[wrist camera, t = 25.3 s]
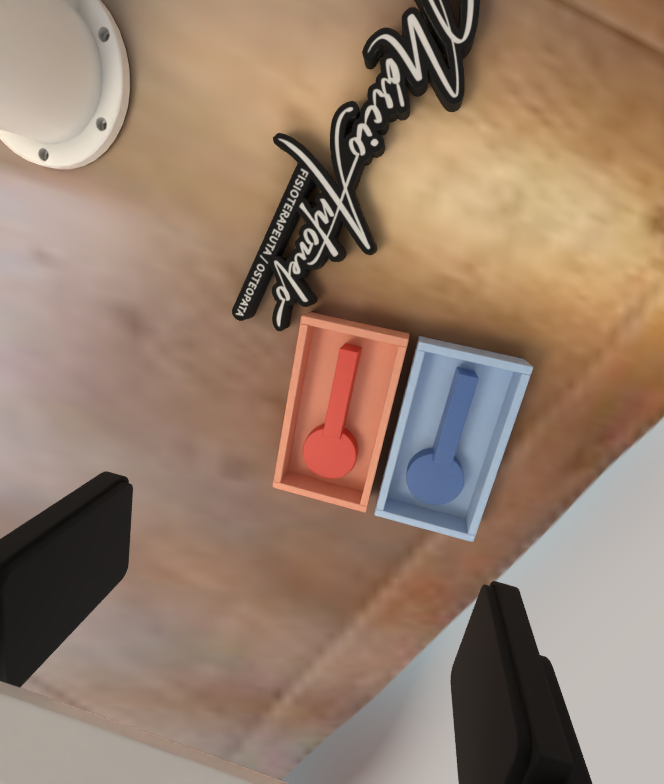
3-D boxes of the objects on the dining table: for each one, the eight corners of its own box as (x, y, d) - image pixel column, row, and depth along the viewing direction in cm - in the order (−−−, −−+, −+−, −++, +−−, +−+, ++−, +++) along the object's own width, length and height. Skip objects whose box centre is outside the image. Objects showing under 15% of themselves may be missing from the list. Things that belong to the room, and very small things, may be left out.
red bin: (310, 311, 34) (301, 315, 31) (409, 333, 33) (408, 339, 30) (281, 472, 38) (272, 487, 36) (369, 496, 37) (365, 513, 35)
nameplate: (386, -134, 25) (541, -48, 24) (388, -111, 26) (535, -31, 26) (204, 300, 34) (317, 366, 33) (213, 299, 35) (321, 361, 35)
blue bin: (418, 335, 33) (418, 341, 30) (524, 358, 32) (533, 366, 29) (377, 498, 37) (374, 515, 35) (469, 523, 36) (473, 542, 34)
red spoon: (325, 338, 34) (319, 343, 32) (381, 351, 33) (379, 356, 31) (301, 465, 37) (295, 476, 35) (352, 478, 37) (348, 491, 34)
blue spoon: (436, 361, 33) (437, 368, 31) (495, 375, 32) (501, 383, 30) (400, 489, 36) (399, 503, 34) (454, 503, 36) (456, 518, 33)
